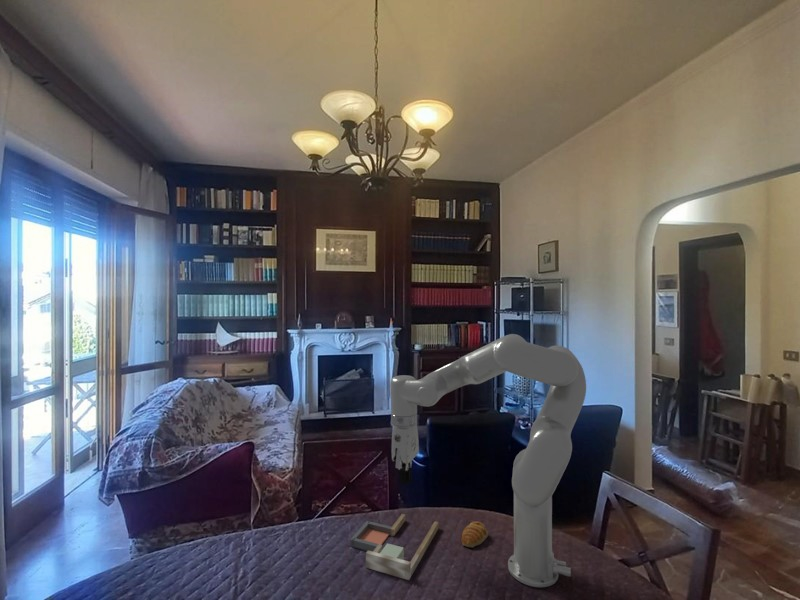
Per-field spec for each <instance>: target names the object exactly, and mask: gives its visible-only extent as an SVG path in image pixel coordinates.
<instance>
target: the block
mask: <svg viewBox="0 0 800 600" xmlns="http://www.w3.org/2000/svg"><path fill="white" fill-rule="evenodd" d="M380 554H383V555H387V556H391V557H394V558H398V559H402V560H405V555H404V554H405V547H403V546H398V545H395V544H393V543H392V544H391V543H388V542H387V543H386V544H385V546H384V547H382V551H381V552H380Z"/></svg>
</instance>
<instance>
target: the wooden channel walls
mask: <svg viewBox="0 0 800 600" xmlns="http://www.w3.org/2000/svg"><path fill="white" fill-rule="evenodd" d="M405 522H406V514H404V513H401V515H400V516H399V517H398V518H397V520H396V521H395V522H394V523H393V524H392V526H391V529H390V535H389V536H391V537H395V536H396V534H397V533H398V532H399V530H400V529H401V527H402V526H403V525H404V523H405ZM439 527H440V526H439V521H434V522H433V524H432V525H431V527H430V528H429V530H428V532H427V533H426V535H425V537H424V538H423V541H422V542H421V544H420V545H419V546H418V548H417V550H416V551H415V554H414V555H413V557H412V559H411V560H410V561H408V560H405V559H404V560H402V559H398V558H394V557H391V556H387V555H383V554H380V552H381V551H382V550H383V544H382V545H380V544H378V545H377V547H376V548H375V549H374V551H373V552H372V551H369V550H368V551H366V552H365V568H366V569H370V570H373V571H376V572H380V573H384V574H387V575H389V576H392V577H396V578H400V579H403V580H407V581H410V580H411V577H412V576H413V574H414V572H415V571H416V569H417V568H418V565H419V564H420V562H421V560H422V559H423V557H424V555H425V553H426V552H427V550H428V548H429V546H430V544H431V542H432V540H433V539H434V538H435V536H436V534H437V532H438V531H439Z"/></svg>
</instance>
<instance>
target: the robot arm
mask: <svg viewBox="0 0 800 600" xmlns="http://www.w3.org/2000/svg"><path fill="white" fill-rule="evenodd" d="M506 372H508V373H511V374H514V375H516V376H519V377H522V378H526V379H529V380H532V381H535V382H540V383H543V384H546V385H548V386H549V389H548V392H547V394H546V397H545V399H544V402H543V405H542V406H541V409H540V411H539V413H538V415H537V417H536V418H535V420H534V422H533V424H532V426H531V428H530V432H529V441H528V444H527V445H526V448H524V449H522V450H520V451H519V453H518V454H516V456H515V459H514V460H513V464H512V465H513V467H512V477H511V487H512V491H513V554H512V555H510V557H509V558H508V561H507V569H508V572H509V573H510V575H511V576H512V577H513V578H514V579H515V580H517V581H518V582H519V583H522V584H524V585H526V586H529V587H532V588H547V587H550V586H553V585H554V584H556V583H557V581H558V580H559V575H563V576H566V577H571V576H572V570H571V569H572V568H571V567H568V566H567V562H566V561H564V560H558V559H557V558H555V554H554V553H555V552H553V516H552V515H553V494H554V493H555V491H556V489H557V486H558V485H559V483H560V481H561V479H562V477H563V475H564V472H565V470H566V469H567V466H568V464H569V462H570V459H571V456H572V452H573V442H572V438H571V434H572V430H573V429H574V426H575V425H576V422H577V420H578V417H579V415H580V412H581V410H582V407H583V406H584V403H585V398H586V394H587V379H586V375H585V371H584V368H583V366H582V364H581V362H580V361H579V359H578V358H577V357H576V355H575V354H574V353H573V352H572V351H571V350H570V349H569V348H567V347H565V346H563V345H560V344H559V345H551V346H549V347H547V346H542V345H539V344H535V343H532V342H528V341H526V339H525V338H524V337H522V336H521V335H519V334H515V333H509V334H506V335H504V336H501V337H499V338H497V339H495V340H493V341H491V342H489V343H488V344H486V345H484V346H481V347H480V348H477V349H475V350H474V351H471V352H469V353H467V354H465V355H463V356H461V357H460V358H458V359H456V360H455V361H453V362H450V363H448V364H446V365H443V366H442V367H440V368H437V369H436V370H434V371H432V372H430V373H428V374H426V375H425V376H423V377H422V378H420V379H416V378H415V377H414V376H412V375H406V374H404V375H403V374H402V375H396V376H393V377H392V378H391V379H390V385H389V386H390V424H391V427H392V429H391V430H392V432H391V461H392V462H393V463H395V469H398V482H399V483H400V484H405V485H409V484H411V483H412V464H413V460H414V458H416V457H417V456H418V454H419V452H420V445H419V443H420V442H419V431H418V406H421V407H432V406H434V405H436V404H437V403H438V402H439V400H440V399H441V398H442V397H443V396H445V395H446V394H448V393H451V392H453V391H455V390H457V389H459V388H462V387H464V386H468V385H480V384H482V383H484V382H487V381H488V380H491V379H492V378H494V377H497V376H500V375H501V374H503V373H506Z"/></svg>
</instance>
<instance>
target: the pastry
mask: <svg viewBox="0 0 800 600" xmlns="http://www.w3.org/2000/svg"><path fill="white" fill-rule="evenodd" d="M488 536H489V532H488V529H487V528H486V526H485V524H484V523H482V522H480V521H472V522H470V523H469V524H468V525H467V526H466V527H464V529H463V531H462V535H461V544H462V546H465V547H466V548H475V547H477V546H481V544H482V543H483V542H484V541H486V539H487V538H488Z"/></svg>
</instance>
